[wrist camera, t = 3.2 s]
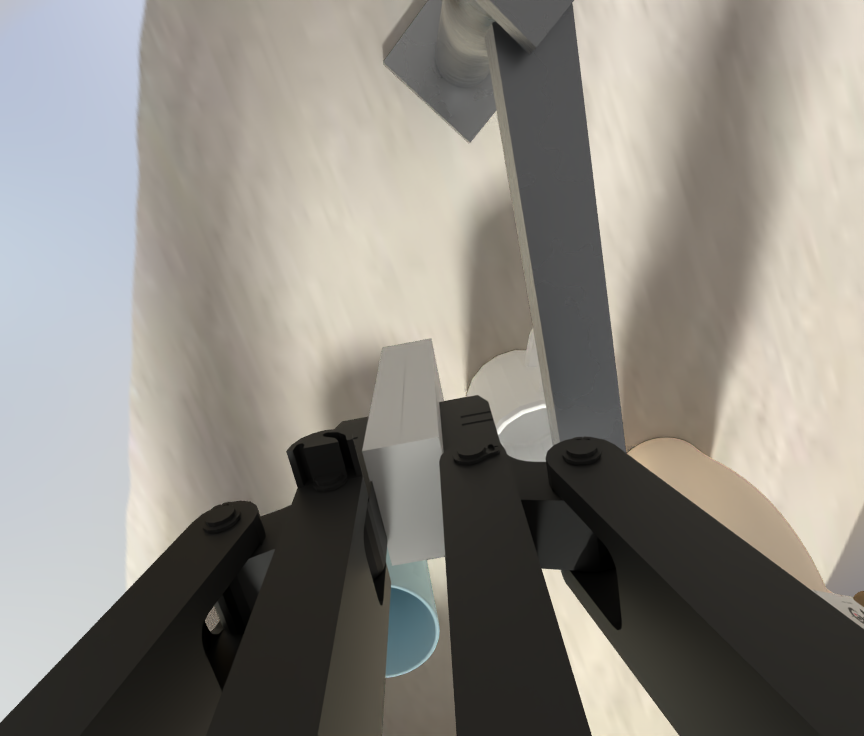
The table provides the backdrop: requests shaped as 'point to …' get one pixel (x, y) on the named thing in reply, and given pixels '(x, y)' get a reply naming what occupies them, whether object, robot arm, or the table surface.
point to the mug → (516, 402)
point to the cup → (410, 617)
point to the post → (465, 53)
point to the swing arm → (558, 228)
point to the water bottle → (740, 512)
